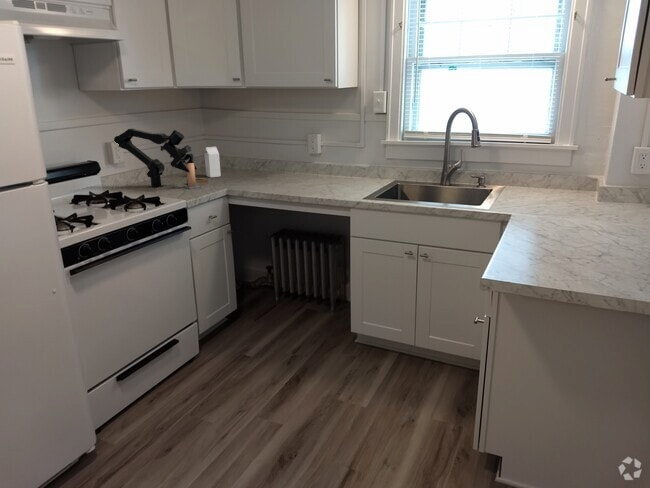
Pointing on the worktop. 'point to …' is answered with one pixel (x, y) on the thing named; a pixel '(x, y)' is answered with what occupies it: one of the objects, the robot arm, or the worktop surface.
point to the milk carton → (212, 162)
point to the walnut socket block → (200, 181)
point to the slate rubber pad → (192, 187)
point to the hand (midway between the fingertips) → (192, 170)
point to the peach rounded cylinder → (191, 175)
